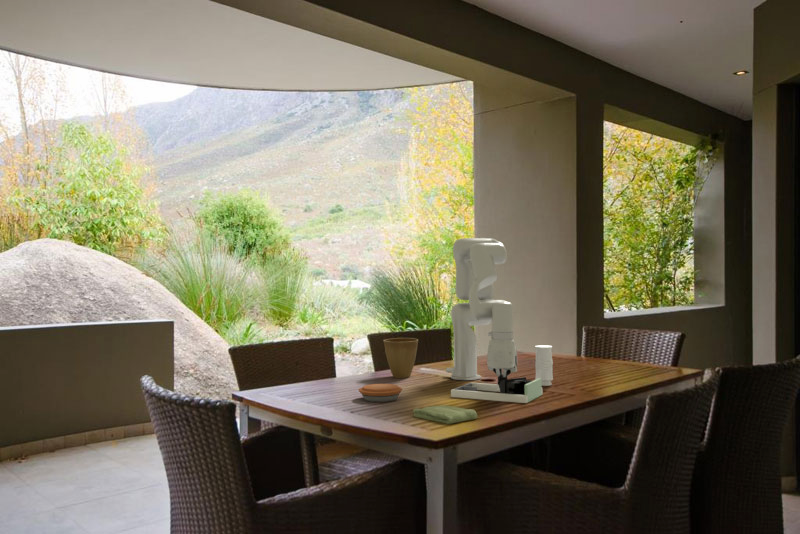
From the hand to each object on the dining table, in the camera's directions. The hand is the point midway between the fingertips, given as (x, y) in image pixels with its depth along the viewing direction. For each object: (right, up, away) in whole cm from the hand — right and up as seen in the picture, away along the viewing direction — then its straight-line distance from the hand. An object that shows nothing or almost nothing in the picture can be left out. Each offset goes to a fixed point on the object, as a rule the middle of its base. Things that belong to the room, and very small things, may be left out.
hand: (502, 387), depth 241 cm
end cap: (+4, -3, -4) cm, 7 cm away
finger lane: (-2, -3, +1) cm, 4 cm away
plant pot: (-36, -4, +48) cm, 61 cm away
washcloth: (-23, -4, -34) cm, 41 cm away
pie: (-44, -4, -2) cm, 44 cm away
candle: (+20, -3, +24) cm, 32 cm away
